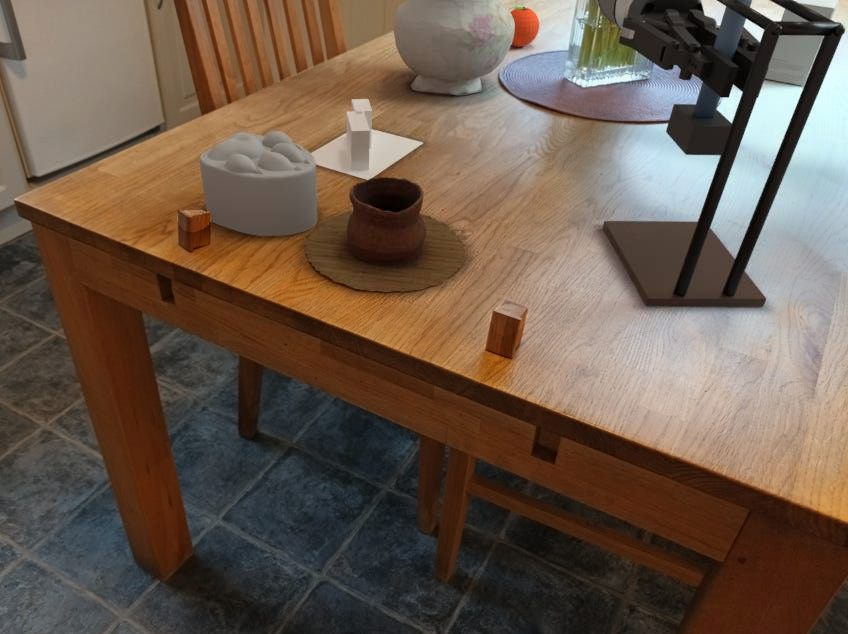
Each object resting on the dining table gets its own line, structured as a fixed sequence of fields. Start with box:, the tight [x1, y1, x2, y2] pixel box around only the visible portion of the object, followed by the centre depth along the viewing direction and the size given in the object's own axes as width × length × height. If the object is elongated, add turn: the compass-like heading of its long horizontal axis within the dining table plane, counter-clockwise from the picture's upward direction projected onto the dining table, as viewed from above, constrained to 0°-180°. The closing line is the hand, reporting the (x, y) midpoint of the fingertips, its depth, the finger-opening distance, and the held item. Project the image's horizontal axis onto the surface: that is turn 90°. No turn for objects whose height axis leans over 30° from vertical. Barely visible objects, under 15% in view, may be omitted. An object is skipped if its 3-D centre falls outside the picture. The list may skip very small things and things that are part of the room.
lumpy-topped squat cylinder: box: [199, 130, 318, 237], centre depth 83 cm, size 10×13×9 cm
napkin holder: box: [310, 98, 424, 181], centre depth 98 cm, size 15×11×6 cm
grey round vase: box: [393, 0, 515, 96], centre depth 116 cm, size 22×20×25 cm
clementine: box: [508, 6, 540, 48], centre depth 139 cm, size 8×7×7 cm
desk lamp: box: [602, 0, 846, 308], centre depth 70 cm, size 17×12×26 cm
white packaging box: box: [764, 0, 839, 86], centre depth 125 cm, size 7×7×13 cm
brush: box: [665, 0, 753, 156], centre depth 68 cm, size 6×10×18 cm, turn 91°
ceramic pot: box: [304, 176, 467, 293], centre depth 77 cm, size 18×18×7 cm
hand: (744, 82), depth 65 cm, fingers closed on brush, 2 cm apart
